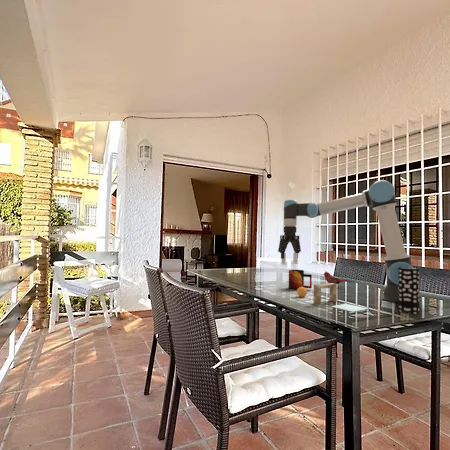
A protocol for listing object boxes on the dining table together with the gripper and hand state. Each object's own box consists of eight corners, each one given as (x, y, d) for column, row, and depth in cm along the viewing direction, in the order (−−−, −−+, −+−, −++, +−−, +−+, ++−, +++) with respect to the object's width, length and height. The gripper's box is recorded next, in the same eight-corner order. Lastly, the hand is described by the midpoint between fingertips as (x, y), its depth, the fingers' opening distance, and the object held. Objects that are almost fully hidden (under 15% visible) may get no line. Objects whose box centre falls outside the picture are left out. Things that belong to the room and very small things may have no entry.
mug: (312, 290, 193) (312, 271, 194) (290, 290, 193) (290, 271, 193) (307, 287, 203) (307, 269, 203) (287, 287, 203) (287, 269, 203)
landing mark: (368, 309, 144) (368, 308, 144) (352, 312, 137) (352, 311, 137) (345, 304, 154) (345, 303, 154) (330, 306, 147) (330, 306, 147)
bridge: (336, 301, 160) (336, 283, 160) (318, 304, 152) (318, 285, 153) (331, 300, 163) (331, 283, 163) (313, 303, 155) (313, 284, 155)
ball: (309, 297, 170) (309, 287, 170) (302, 298, 167) (302, 288, 167) (301, 295, 175) (301, 285, 175) (294, 296, 172) (294, 286, 172)
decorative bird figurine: (324, 285, 214) (324, 271, 215) (348, 289, 201) (348, 273, 201) (321, 285, 212) (322, 271, 213) (346, 289, 199) (346, 274, 200)
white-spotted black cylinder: (394, 309, 145) (394, 267, 145) (410, 309, 145) (410, 267, 146) (406, 313, 136) (406, 269, 137) (423, 313, 137) (423, 269, 138)
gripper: (298, 226, 190) (297, 263, 189) (272, 225, 178) (271, 264, 177) (307, 226, 184) (307, 264, 183) (280, 225, 172) (280, 265, 171)
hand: (289, 264), depth 180 cm, fingers open, 9 cm apart
